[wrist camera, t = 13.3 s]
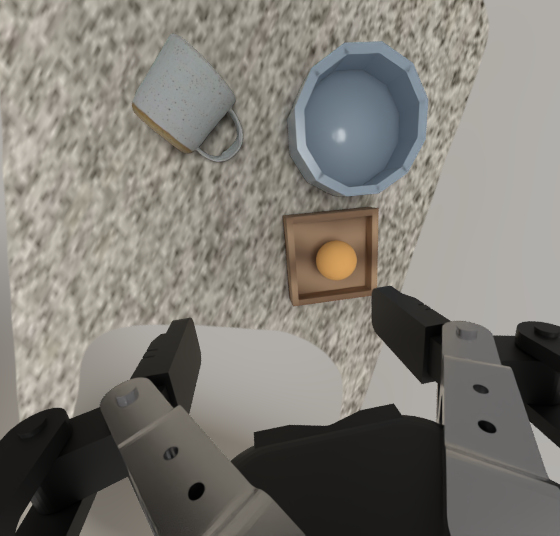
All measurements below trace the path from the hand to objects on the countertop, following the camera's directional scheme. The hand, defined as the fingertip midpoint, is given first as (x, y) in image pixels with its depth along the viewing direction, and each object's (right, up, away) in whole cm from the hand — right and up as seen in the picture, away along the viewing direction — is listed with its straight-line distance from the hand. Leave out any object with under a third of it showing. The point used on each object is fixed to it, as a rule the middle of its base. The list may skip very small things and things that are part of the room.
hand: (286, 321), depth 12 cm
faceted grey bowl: (+8, +20, +22) cm, 31 cm away
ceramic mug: (-10, +20, +20) cm, 30 cm away
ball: (+7, +3, +23) cm, 24 cm away
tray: (+7, +4, +27) cm, 28 cm away
